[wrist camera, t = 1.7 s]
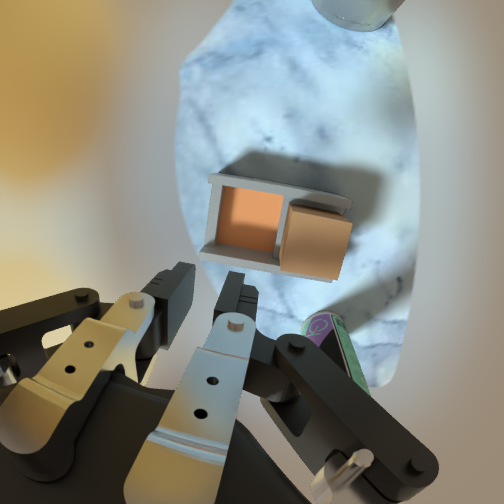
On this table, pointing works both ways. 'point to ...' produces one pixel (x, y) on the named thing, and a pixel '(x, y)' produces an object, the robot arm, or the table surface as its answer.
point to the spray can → (334, 343)
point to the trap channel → (256, 220)
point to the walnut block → (314, 241)
